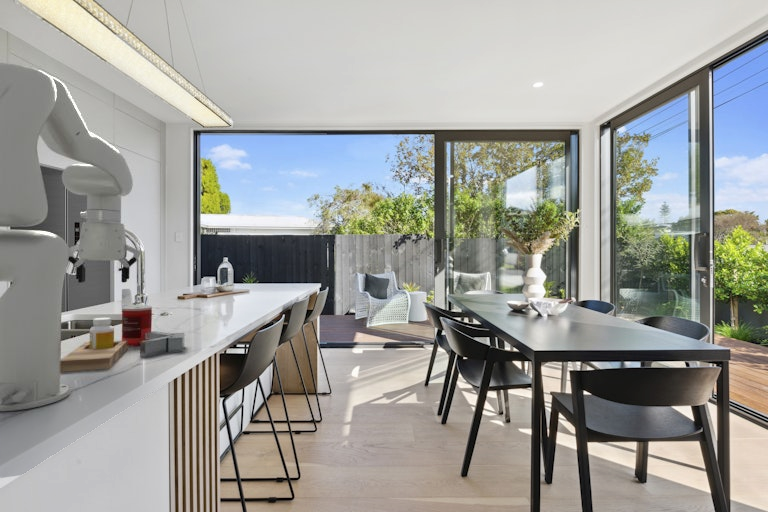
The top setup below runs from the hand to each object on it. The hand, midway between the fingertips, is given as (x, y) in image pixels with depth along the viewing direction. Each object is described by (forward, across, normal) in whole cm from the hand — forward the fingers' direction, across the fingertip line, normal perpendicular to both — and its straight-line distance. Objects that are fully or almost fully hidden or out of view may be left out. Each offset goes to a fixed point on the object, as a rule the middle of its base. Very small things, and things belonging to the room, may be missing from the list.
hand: (103, 282), depth 112 cm
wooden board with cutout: (+19, 0, -6) cm, 20 cm away
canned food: (+20, +6, +12) cm, 24 cm away
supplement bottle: (+20, 0, 0) cm, 20 cm away
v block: (+19, +14, +1) cm, 24 cm away
